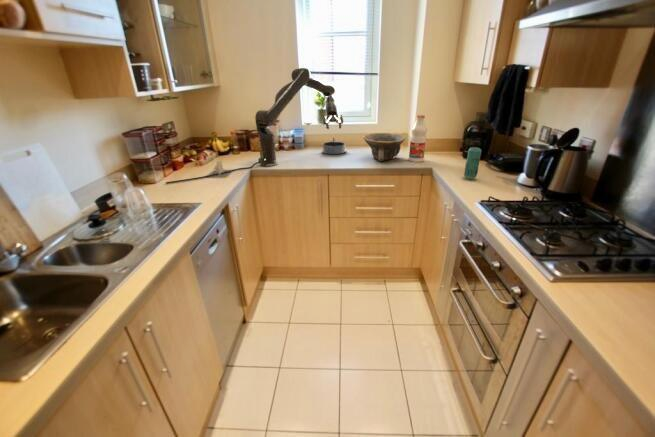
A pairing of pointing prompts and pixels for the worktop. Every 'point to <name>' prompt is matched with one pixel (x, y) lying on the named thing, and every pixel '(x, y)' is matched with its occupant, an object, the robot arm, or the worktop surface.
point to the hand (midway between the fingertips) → (334, 128)
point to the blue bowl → (334, 148)
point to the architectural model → (219, 170)
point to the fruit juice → (418, 140)
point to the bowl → (384, 145)
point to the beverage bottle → (473, 160)
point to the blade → (334, 142)
